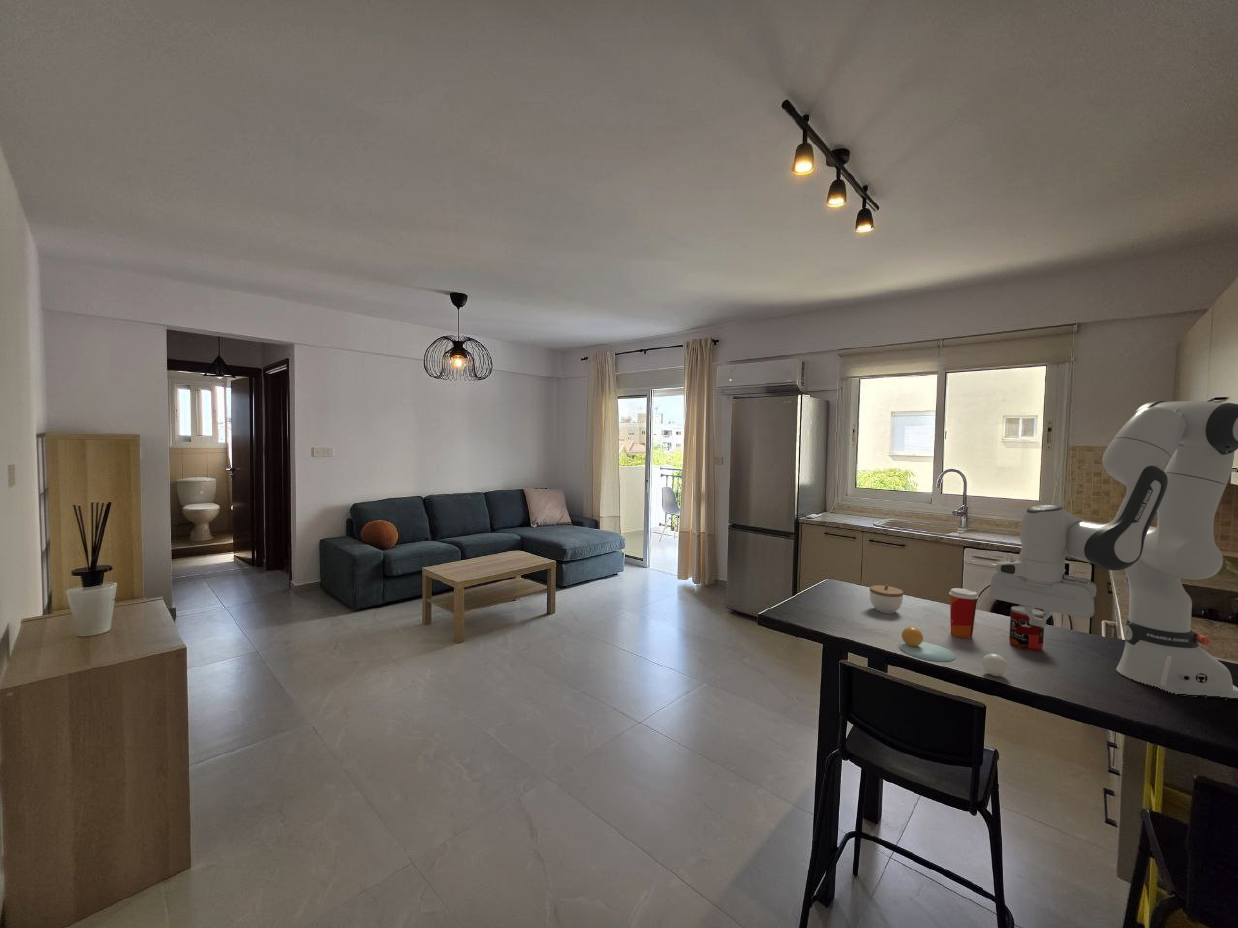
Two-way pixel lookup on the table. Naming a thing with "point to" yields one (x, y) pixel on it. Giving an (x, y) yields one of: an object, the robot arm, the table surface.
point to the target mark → (928, 652)
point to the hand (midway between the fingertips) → (1037, 625)
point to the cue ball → (994, 664)
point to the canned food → (1025, 630)
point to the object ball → (912, 636)
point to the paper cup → (962, 612)
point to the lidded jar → (886, 598)
